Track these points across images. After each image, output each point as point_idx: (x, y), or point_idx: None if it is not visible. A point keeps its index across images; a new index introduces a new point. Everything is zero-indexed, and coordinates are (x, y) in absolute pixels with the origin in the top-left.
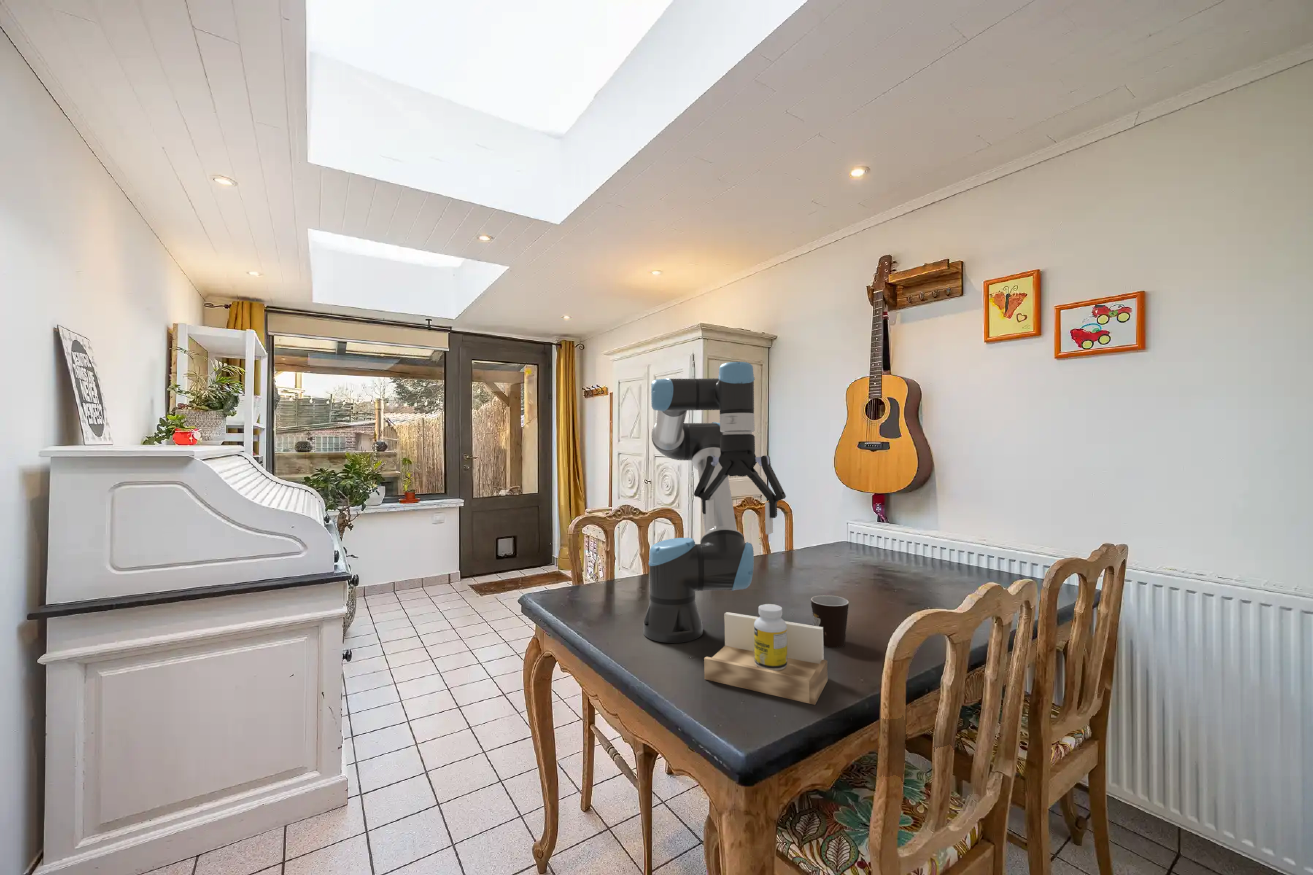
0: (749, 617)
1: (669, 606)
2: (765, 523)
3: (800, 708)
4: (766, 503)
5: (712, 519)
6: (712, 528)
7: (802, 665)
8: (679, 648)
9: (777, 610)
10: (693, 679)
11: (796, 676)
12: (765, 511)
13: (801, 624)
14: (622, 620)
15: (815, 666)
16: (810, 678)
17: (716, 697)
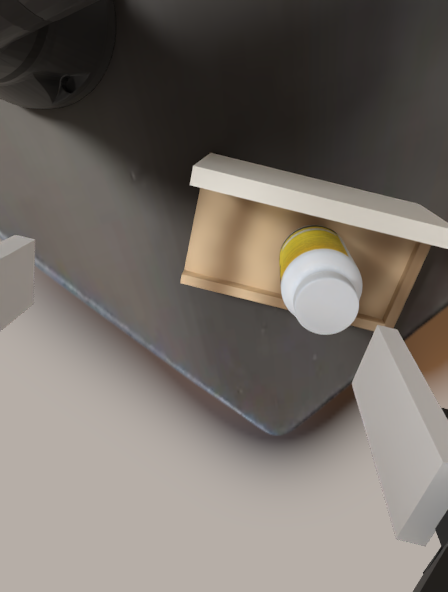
0: (261, 198)
1: (3, 83)
2: (363, 421)
3: (355, 331)
4: (406, 538)
5: (2, 280)
6: (33, 261)
7: (378, 241)
8: (93, 131)
9: (345, 326)
10: (169, 273)
11: (360, 322)
12: (381, 481)
13: (404, 223)
14: None
15: (405, 240)
16: (386, 295)
17: (221, 324)
